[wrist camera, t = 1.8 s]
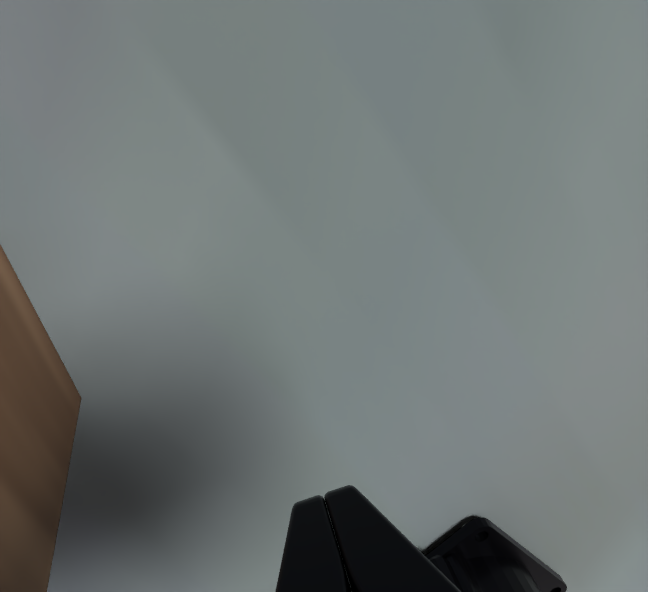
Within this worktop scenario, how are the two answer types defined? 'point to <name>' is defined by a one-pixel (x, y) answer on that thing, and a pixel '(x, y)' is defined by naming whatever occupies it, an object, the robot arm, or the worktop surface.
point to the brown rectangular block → (30, 439)
